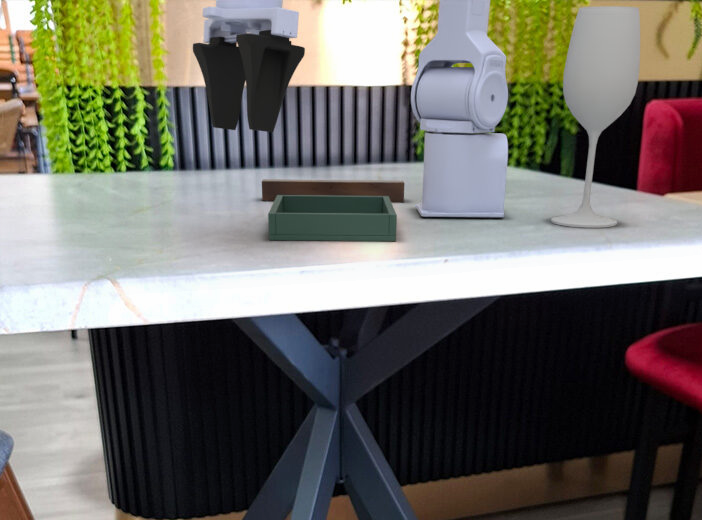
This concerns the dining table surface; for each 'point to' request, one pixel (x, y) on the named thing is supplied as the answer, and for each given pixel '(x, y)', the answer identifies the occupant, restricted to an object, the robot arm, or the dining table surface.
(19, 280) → the dining table surface
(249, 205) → the dining table surface
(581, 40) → the wineglass
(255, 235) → the dining table surface
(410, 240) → the dining table surface
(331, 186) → the bar
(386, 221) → the tray
